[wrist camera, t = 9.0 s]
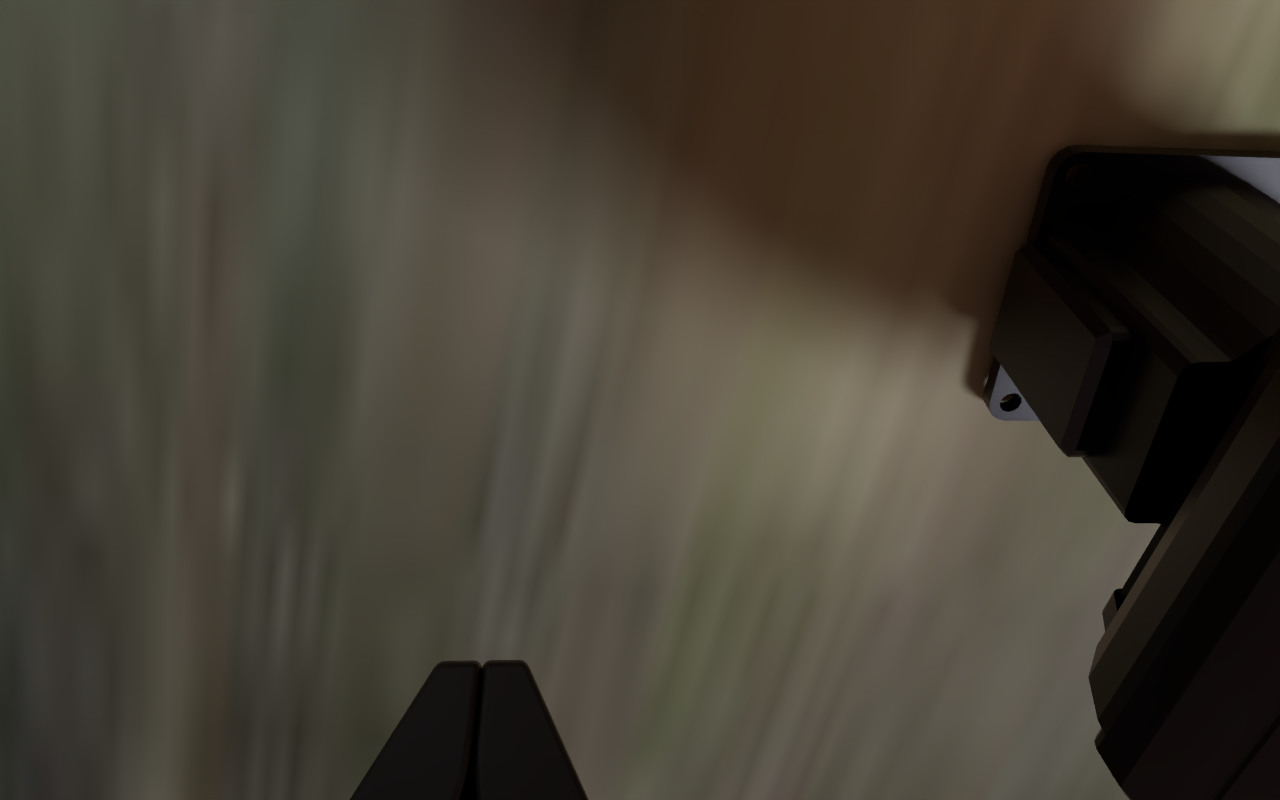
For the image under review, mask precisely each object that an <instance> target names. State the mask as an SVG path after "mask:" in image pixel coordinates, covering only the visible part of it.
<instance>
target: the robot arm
mask: <svg viewBox="0 0 1280 800" xmlns="http://www.w3.org/2000/svg"><path fill="white" fill-rule="evenodd" d="M1081 163H1082V170H1081V172H1080V174H1079V175H1078V176H1077V177H1075V178H1074V179H1072V180H1067V181H1066V174H1067V173H1068V171H1069V169H1070V168H1072V167H1073V166H1074V165H1077V164H1081ZM990 350H991V352H992V353H993V354H994V359H993V362H992V366H991V370H990V373H989V377H988V380H987V384H986V387H985V391H984V402H985V404H986V406H987V408H988V409H989V411H990V412H991V414H992V415H993V416H994V417H996V418H997V419H1000V420H1010V421H1040V422H1041V423H1042V424H1043V426H1044V427H1045V429H1046V430H1047V432H1048V433H1049V434H1050V436H1051V437H1052V439H1053V440H1054V442H1055V443H1056V444H1057V446H1058V447H1059V448H1060V449H1061V451H1062V452H1063V453H1064V454H1065V455H1066V456H1068V457H1082V458H1083V460H1084V461H1085V463H1086V464H1087V465H1088V467H1089V468H1090V469H1091V471H1092V472H1093V474H1094V475H1095V476H1096V478H1097V479H1098V481H1099V482H1100V483H1101V485H1102V486H1103V487H1104V489H1105V490H1106V492H1107V493H1108V494H1109V496H1110V497H1111V499H1112V500H1113V501H1114V503H1115V504H1116V505H1117V507H1118V508H1119V510H1120V511H1121V512H1122V514H1123V515H1124V517H1125V518H1126V519H1127V520H1128V521H1129V522H1133V523H1158V524H1161V525H1160V527H1159V528H1158V530H1157V532H1156V533H1155V535H1154V537H1153V538H1152V540H1151V542H1150V543H1149V545H1148V547H1147V548H1146V550H1145V552H1144V553H1143V555H1142V557H1141V558H1140V560H1139V562H1138V563H1137V565H1136V567H1135V568H1134V570H1133V572H1132V573H1131V575H1130V577H1129V578H1128V580H1127V582H1126V583H1125V585H1124V587H1123V588H1122V589H1116V590H1115V591H1114V592H1113V594H1112V596H1111V597H1110V599H1109V601H1108V602H1107V604H1106V606H1105V608H1104V609H1103V613H1102V614H1103V620H1104V626H1105V633H1104V635H1103V637H1102V638H1101V640H1100V641H1099V643H1098V645H1097V648H1096V651H1095V655H1094V659H1093V662H1092V666H1091V670H1090V674H1089V682H1090V686H1091V691H1092V695H1093V700H1094V704H1095V709H1096V714H1097V718H1098V721H1099V723H1100V725H1101V729H1100V731H1099V732H1098V734H1097V736H1096V738H1095V745H1096V749H1097V751H1098V752H1099V754H1100V755H1101V757H1102V759H1103V760H1104V762H1105V764H1106V765H1107V767H1108V768H1109V770H1110V772H1111V773H1112V775H1113V777H1114V778H1115V780H1116V781H1117V783H1118V785H1119V786H1120V787H1121V789H1122V790H1123V792H1124V793H1125V795H1126V796H1127V797H1128V798H1129V799H1130V800H1280V152H1267V151H1238V150H1208V149H1178V148H1148V147H1118V146H1088V145H1075V146H1068V147H1066V148H1064V149H1062V150H1060V151H1058V152H1057V153H1056V155H1055V156H1054V157H1053V158H1052V159H1051V160H1050V162H1049V164H1048V167H1047V169H1046V173H1045V176H1044V180H1043V183H1042V187H1041V191H1040V194H1039V198H1038V201H1037V205H1036V208H1035V212H1034V216H1033V219H1032V223H1031V226H1030V230H1029V234H1028V237H1027V241H1026V242H1025V243H1024V244H1023V245H1022V246H1021V247H1020V248H1019V249H1018V250H1017V251H1016V253H1015V256H1014V260H1013V264H1012V267H1011V271H1010V275H1009V278H1008V282H1007V286H1006V289H1005V293H1004V296H1003V300H1002V304H1001V307H1000V311H999V315H998V318H997V322H996V325H995V329H994V333H993V336H992V340H991V344H990ZM1012 393H1015V394H1014V396H1013V398H1012V399H1010V400H1009V401H1007V402H1002V403H1001V402H1000V401H1001V400H1002V398H1003V397H1005V396H1006V395H1007V394H1012ZM350 800H588V797H587V795H586V793H585V791H584V789H583V786H582V784H581V782H580V780H579V777H578V775H577V773H576V771H575V768H574V766H573V764H572V762H571V759H570V757H569V755H568V753H567V750H566V748H565V746H564V744H563V741H562V739H561V737H560V735H559V732H558V730H557V728H556V726H555V724H554V721H553V719H552V717H551V715H550V712H549V710H548V708H547V706H546V703H545V701H544V699H543V697H542V694H541V692H540V690H539V688H538V685H537V683H536V681H535V679H534V676H533V674H532V672H531V670H530V668H529V666H528V665H527V663H526V662H524V661H523V660H491V661H487V662H486V663H485V664H484V665H483V669H482V666H481V664H480V663H479V662H477V661H442V662H440V663H439V664H437V665H436V666H435V668H434V669H433V670H432V672H431V673H430V675H429V677H428V678H427V680H426V681H425V683H424V684H423V686H422V688H421V689H420V691H419V692H418V694H417V695H416V697H415V698H414V700H413V702H412V703H411V705H410V706H409V708H408V709H407V711H406V713H405V714H404V716H403V717H402V719H401V720H400V722H399V723H398V725H397V727H396V728H395V730H394V731H393V733H392V734H391V736H390V738H389V739H388V741H387V742H386V744H385V745H384V747H383V748H382V750H381V752H380V753H379V755H378V756H377V758H376V759H375V761H374V762H373V764H372V766H371V767H370V769H369V770H368V772H367V773H366V775H365V777H364V778H363V780H362V781H361V783H360V784H359V786H358V787H357V789H356V791H355V792H354V794H353V795H352V797H351V798H350Z"/></svg>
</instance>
